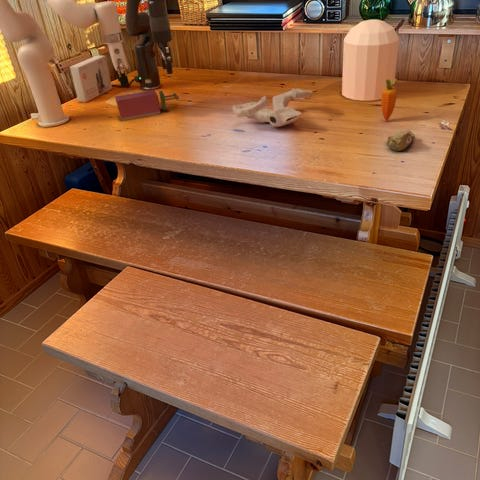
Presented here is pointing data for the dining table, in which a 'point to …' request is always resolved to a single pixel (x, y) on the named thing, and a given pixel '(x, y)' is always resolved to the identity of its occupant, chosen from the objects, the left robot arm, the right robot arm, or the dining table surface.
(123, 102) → the cabinet
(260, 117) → the beige irregular branched piece
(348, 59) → the container
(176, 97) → the drawer
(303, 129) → the dining table surface
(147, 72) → the right robot arm
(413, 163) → the dining table surface
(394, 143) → the rock
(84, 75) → the skincare box
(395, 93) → the carrot
